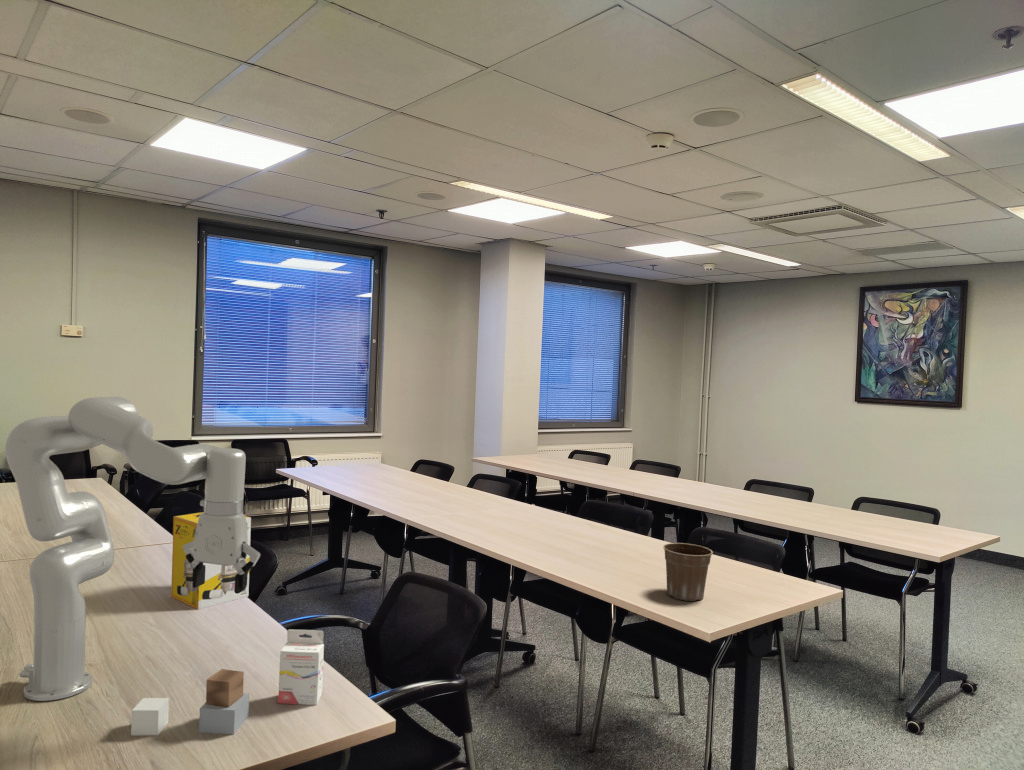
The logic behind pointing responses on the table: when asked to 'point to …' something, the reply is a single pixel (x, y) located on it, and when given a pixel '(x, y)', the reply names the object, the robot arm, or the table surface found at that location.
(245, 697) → the slate base block
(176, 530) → the packaging box
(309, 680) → the ink cartridge box
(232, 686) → the walnut cube
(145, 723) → the pale grey cube
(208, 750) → the table surface
